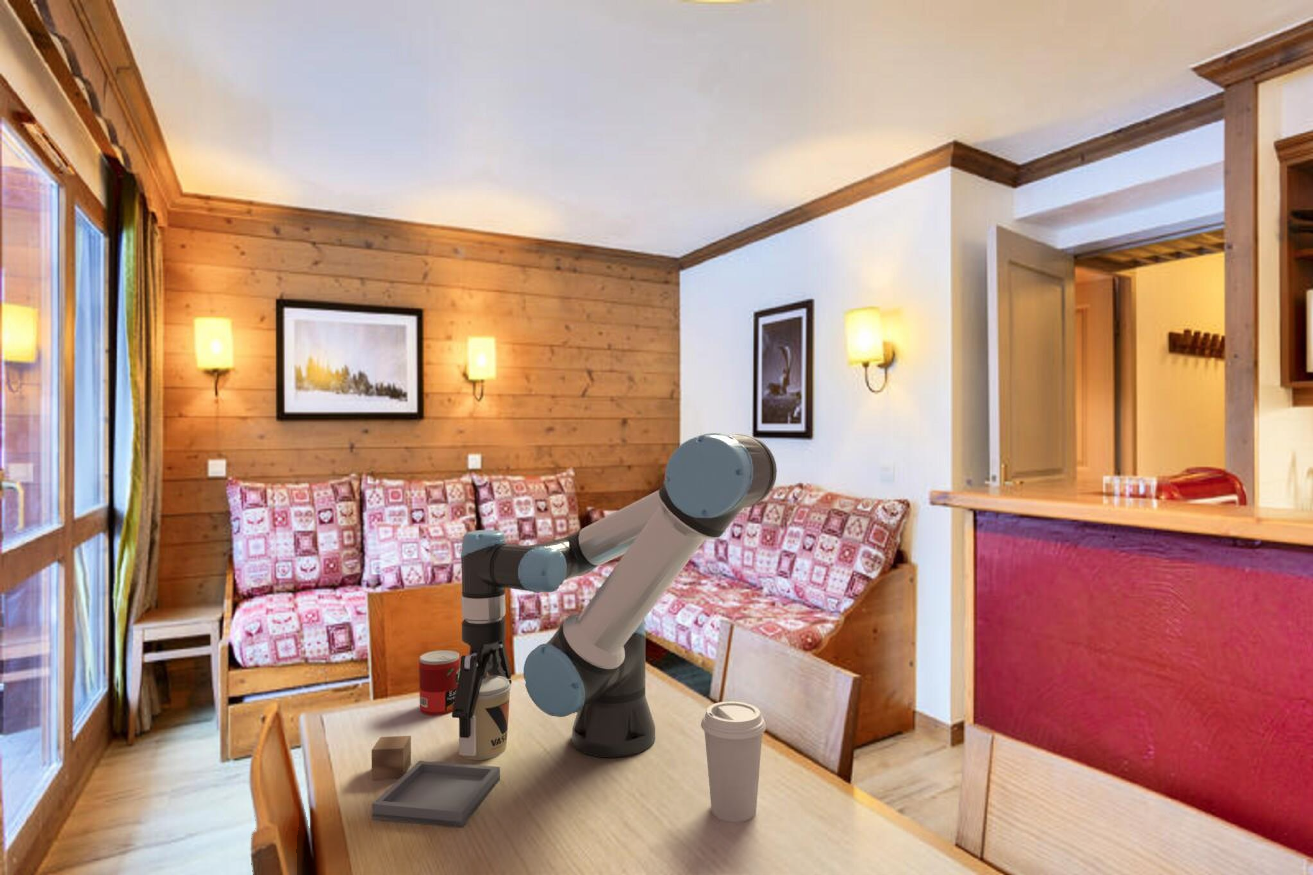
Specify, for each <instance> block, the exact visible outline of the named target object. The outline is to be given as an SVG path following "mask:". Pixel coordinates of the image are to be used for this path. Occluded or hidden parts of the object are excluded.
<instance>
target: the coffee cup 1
mask: <svg viewBox="0 0 1313 875" xmlns="http://www.w3.org/2000/svg"><path fill="white" fill-rule="evenodd" d="M509 680H510V679H507V678H505V677H502V676H496V675H489V674H487V675H486V678H485V679H483V680H482V684H481V687H480V691H479V695H478V699H477V702H476V706H475V710H474V714H473V715H476V755H475V756H468V755H462V756H463V757H464V758H466V759H470V760H477V761H478V760H488V759H493V758H495V757H498V756H500V755H502V754H503V753H505V751H506V750H507V743H508V731H509V730H508V729H509V728H508V727H509V713H510V696H511V695H510V694H511V692H510V691H511V688H512V683H511V684H510V683H509Z"/></svg>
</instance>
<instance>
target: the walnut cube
mask: <svg viewBox="0 0 1313 875" xmlns="http://www.w3.org/2000/svg"><path fill="white" fill-rule="evenodd" d="M411 739H412V735H397V736H396V735H395V736H380V737H379V739H378V740H377V741H376V743H375V744H374V746H373V747H372V749H371V781H378V780H381V781H382V780H383V781H384V780H399V779H400V778H401V777H402V776H403V775H404V774H406V773H407V772H408V771H409V770H410V766H411V765H412V740H411Z"/></svg>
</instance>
